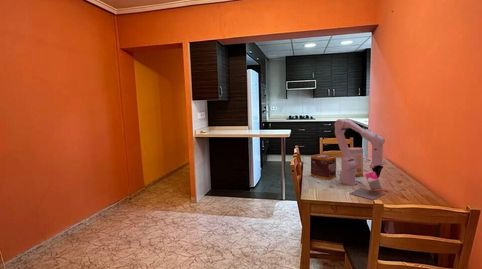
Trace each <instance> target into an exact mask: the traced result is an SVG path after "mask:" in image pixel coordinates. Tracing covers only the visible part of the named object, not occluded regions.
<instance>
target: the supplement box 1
mask: <svg viewBox="0 0 482 269" xmlns="http://www.w3.org/2000/svg"><path fill="white" fill-rule="evenodd" d="M310 176H311V177H315V178H320V179H323V180H327V181H329V180H331V179H335V178H337V156H333V155H328V154H320V153H319V154H314V155H311V156H310Z"/></svg>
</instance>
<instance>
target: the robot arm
mask: <svg viewBox="0 0 482 269" xmlns="http://www.w3.org/2000/svg"><path fill="white" fill-rule="evenodd" d="M333 125H334V135H335V139H336V141H337V144H338V148H339V150H340V153H341V170H340V171H339V183H340V184H345V185H348V186H354V185H357V184H359V182H357V181H356V176H355V170H356V168H357V166H358V164H357V162H356V161H355V159H354V157H353V156H351V153H350V151H349V148H350V147H349V145H348V141H347V139H346V136H345V133H346V130H347V129H352V130H354V131H355V132H357V133H359V134H360V136H361V137H362V138H363V139H365V140H366V141H368V142H370V144H371V147H372V149H371V163H369V168H371V170H372V172H375V173H376V175H377V177H378V179H379V178H380V176H381V173H382V170H383V168H384V165H385V161H384V160H383V158H384V153H383V152H384V148H383V147H384V144H385V143H386V140H385V138H384V136H382V135H379V134H378V133H375V132H373V131H372V129H369V128H368V129H367V128H366V129H364V128H363V127H361V126H359V125H358V124H357V123H356V122H354V121H353V120H351V119H350V118H341V119H340V118H339V119H337V120H335V122H334V124H333ZM342 156H343V158H342ZM342 168H343V169H342Z"/></svg>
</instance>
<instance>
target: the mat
mask: <svg viewBox="0 0 482 269" xmlns="http://www.w3.org/2000/svg"><path fill="white" fill-rule="evenodd" d="M349 195H351V196H355V197H359V198H362V199H366V200H371V201H375V200H377V199H378V198H381V197H382V196H385V195H386V194H385V193H382V192H378V191H376V190H374V191H371V189H370V190H369V189H365V188H359V189H357V190H354V191H352V192H350V193H349Z"/></svg>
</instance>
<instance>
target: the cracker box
mask: <svg viewBox="0 0 482 269" xmlns="http://www.w3.org/2000/svg"><path fill="white" fill-rule="evenodd" d="M348 148H349V151H350V153H351V156H353V157H354V159H355V161H356V162H357V164H358V166H357V168H356V170H355V177H364V148H362V147H348ZM342 158H343V156H342V155H341V159H342ZM342 169H343V168H342V167H341V170H342Z"/></svg>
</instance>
